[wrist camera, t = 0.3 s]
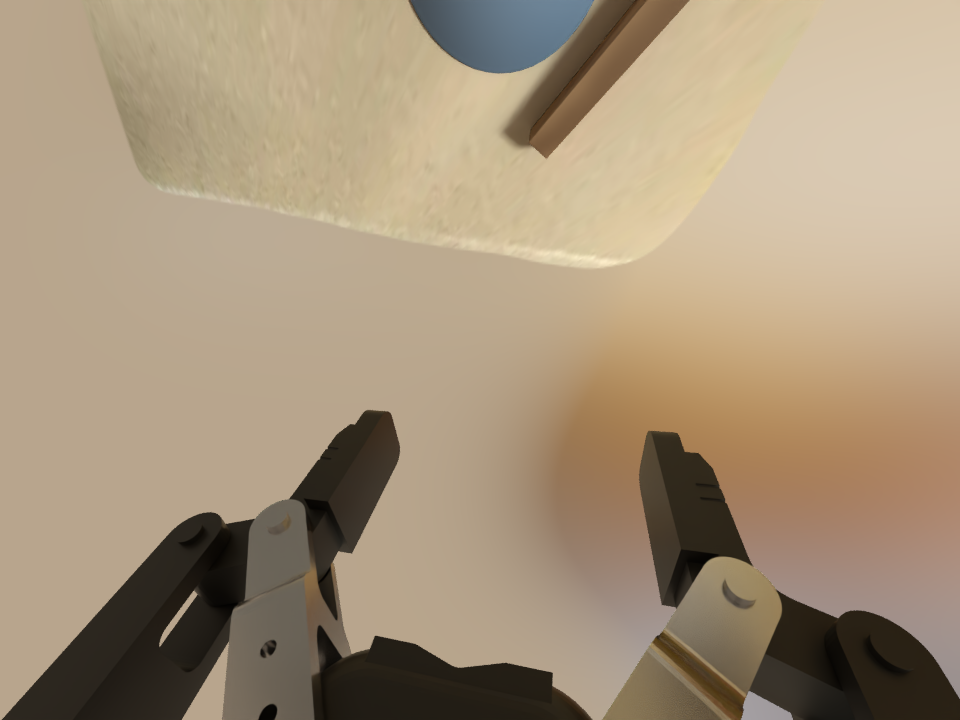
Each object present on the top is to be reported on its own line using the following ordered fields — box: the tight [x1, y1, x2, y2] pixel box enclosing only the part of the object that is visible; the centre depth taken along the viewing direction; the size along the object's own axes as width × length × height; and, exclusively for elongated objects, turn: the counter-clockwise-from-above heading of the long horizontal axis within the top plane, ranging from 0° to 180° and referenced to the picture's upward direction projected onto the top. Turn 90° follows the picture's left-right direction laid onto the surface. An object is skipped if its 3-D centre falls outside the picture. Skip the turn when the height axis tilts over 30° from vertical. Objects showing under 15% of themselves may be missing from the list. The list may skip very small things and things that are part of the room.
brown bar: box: [529, 0, 689, 159], centre depth 27 cm, size 2×14×2 cm, turn 144°
